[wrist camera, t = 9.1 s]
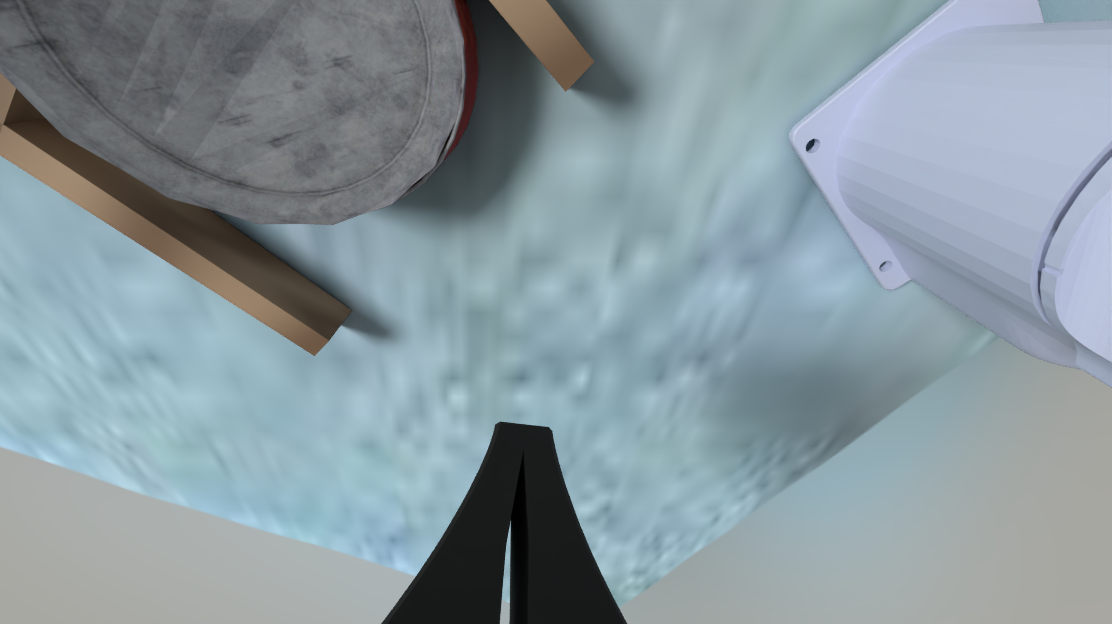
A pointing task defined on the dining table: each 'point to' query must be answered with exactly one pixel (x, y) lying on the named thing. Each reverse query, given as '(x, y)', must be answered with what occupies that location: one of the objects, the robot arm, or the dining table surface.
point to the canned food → (253, 95)
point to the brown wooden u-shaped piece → (203, 236)
